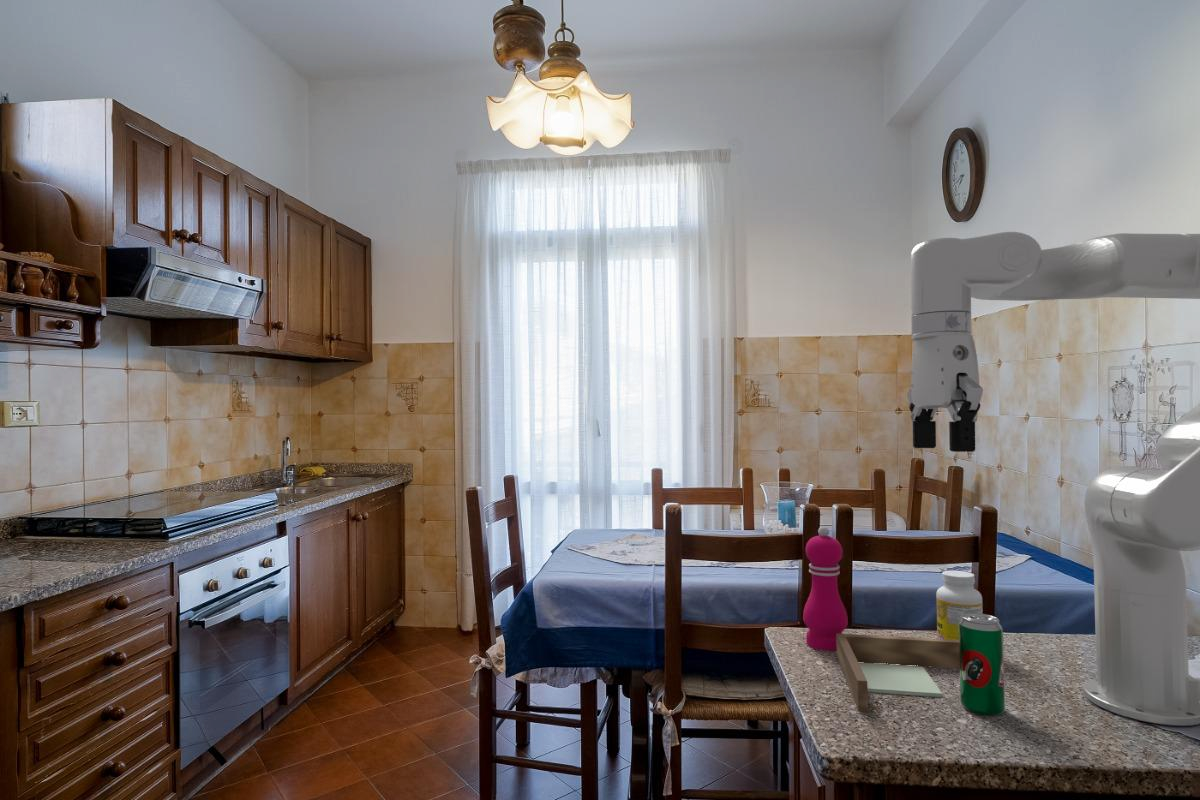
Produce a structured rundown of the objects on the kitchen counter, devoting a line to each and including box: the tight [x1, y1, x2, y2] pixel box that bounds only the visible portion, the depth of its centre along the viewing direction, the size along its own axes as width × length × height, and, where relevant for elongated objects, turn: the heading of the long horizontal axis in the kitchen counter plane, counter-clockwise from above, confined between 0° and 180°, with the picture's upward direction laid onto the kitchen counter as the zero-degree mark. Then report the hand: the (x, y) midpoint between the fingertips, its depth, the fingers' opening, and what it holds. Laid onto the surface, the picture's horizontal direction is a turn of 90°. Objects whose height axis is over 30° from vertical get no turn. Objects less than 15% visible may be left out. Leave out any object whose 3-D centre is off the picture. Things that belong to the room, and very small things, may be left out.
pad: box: [859, 663, 944, 698], centre depth 96 cm, size 10×10×1 cm
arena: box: [836, 633, 960, 713], centre depth 94 cm, size 20×19×4 cm
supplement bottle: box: [935, 570, 984, 640], centre depth 108 cm, size 7×7×13 cm
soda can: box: [959, 613, 1006, 717], centre depth 87 cm, size 5×5×12 cm
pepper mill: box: [802, 526, 849, 652], centre depth 112 cm, size 7×7×20 cm
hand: (942, 449), depth 92 cm, fingers open, 9 cm apart
